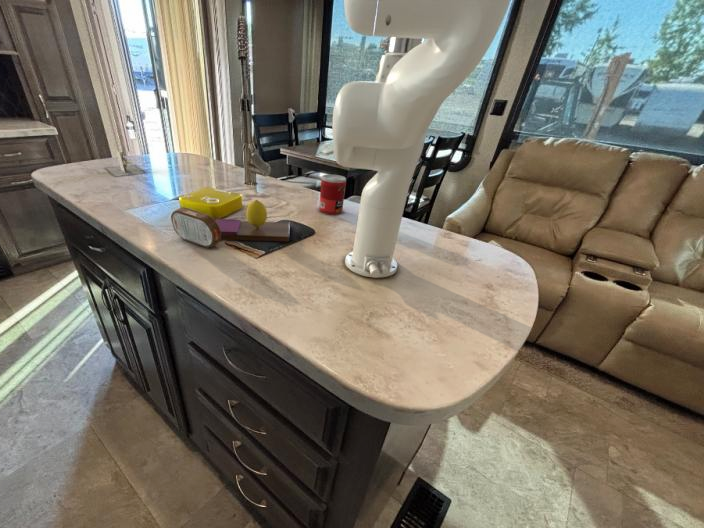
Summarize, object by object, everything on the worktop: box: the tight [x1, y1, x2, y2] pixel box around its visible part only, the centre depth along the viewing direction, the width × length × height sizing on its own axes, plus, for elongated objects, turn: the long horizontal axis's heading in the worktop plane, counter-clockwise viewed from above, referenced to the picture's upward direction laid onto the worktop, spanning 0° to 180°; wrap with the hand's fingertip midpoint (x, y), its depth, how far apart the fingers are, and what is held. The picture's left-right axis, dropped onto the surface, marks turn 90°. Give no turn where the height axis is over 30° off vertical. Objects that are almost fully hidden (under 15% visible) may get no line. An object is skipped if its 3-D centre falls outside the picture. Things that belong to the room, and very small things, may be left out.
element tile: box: [178, 186, 243, 220], centre depth 105 cm, size 15×15×5 cm
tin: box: [170, 207, 222, 249], centre depth 83 cm, size 15×3×8 cm, turn 59°
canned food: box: [318, 173, 347, 216], centre depth 108 cm, size 8×8×11 cm
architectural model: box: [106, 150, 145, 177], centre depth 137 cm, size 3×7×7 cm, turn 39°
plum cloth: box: [216, 218, 242, 234], centre depth 91 cm, size 9×7×1 cm
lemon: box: [246, 199, 268, 228], centre depth 89 cm, size 6×6×8 cm
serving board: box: [215, 220, 290, 243], centre depth 92 cm, size 10×22×2 cm, turn 92°
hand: (387, 134), depth 82 cm, fingers open, 9 cm apart
